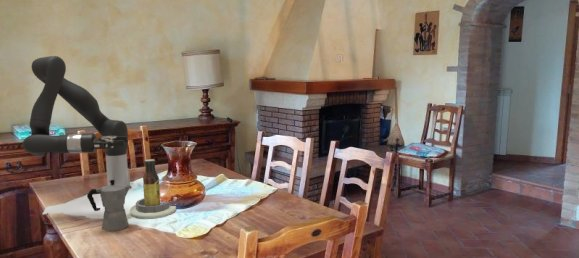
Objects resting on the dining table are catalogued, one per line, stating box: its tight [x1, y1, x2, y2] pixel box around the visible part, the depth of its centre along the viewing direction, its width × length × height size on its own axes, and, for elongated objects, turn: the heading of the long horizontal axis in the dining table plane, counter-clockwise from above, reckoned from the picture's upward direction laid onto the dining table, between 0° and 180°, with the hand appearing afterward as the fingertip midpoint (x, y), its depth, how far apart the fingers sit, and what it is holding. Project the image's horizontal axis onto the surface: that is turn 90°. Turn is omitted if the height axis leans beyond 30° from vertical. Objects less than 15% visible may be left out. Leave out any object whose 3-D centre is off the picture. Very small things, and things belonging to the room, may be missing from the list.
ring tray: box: [129, 197, 177, 220], centre depth 186 cm, size 18×18×4 cm
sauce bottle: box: [142, 158, 161, 206], centre depth 184 cm, size 7×6×20 cm
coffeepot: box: [86, 180, 132, 232], centre depth 167 cm, size 15×9×18 cm, turn 122°
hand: (125, 141), depth 180 cm, fingers open, 8 cm apart
